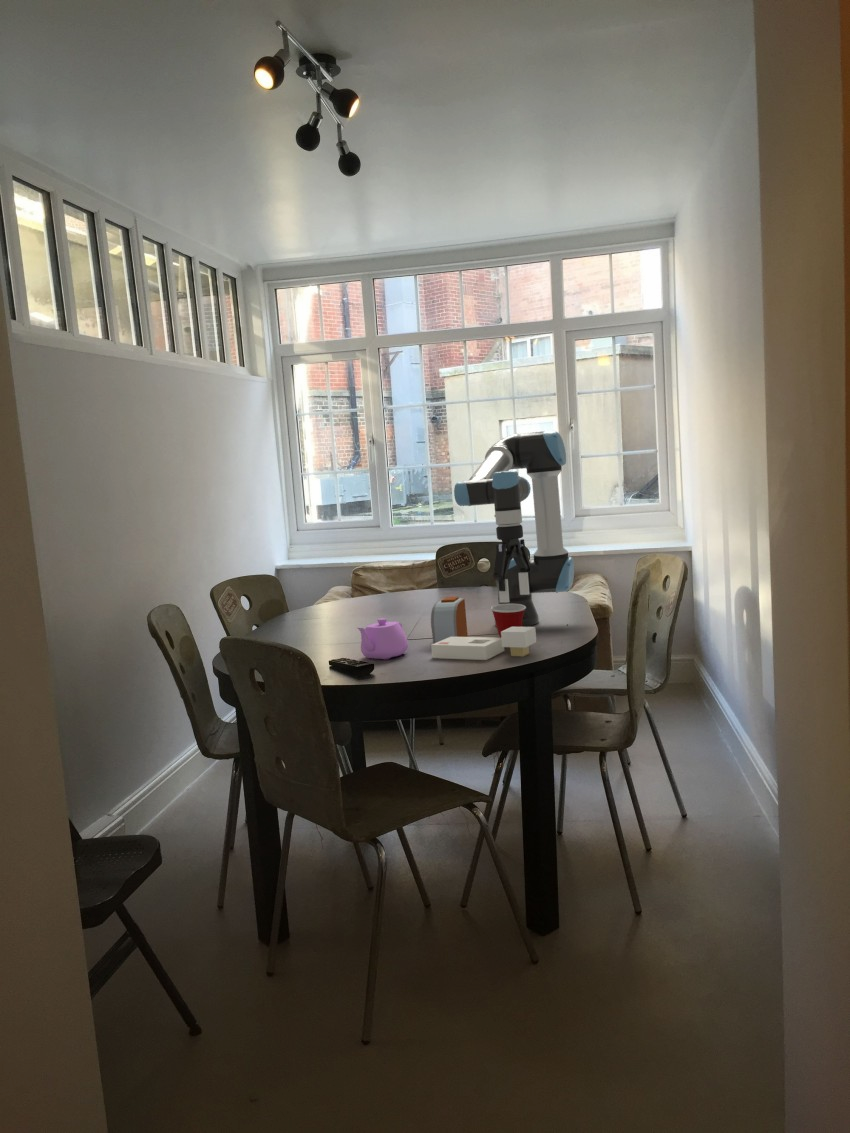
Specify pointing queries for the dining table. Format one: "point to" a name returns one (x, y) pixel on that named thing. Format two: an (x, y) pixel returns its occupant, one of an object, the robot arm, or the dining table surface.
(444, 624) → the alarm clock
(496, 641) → the socket
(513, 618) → the plastic cup
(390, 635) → the teapot
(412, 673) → the dining table surface
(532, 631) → the plug
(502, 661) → the dining table surface
